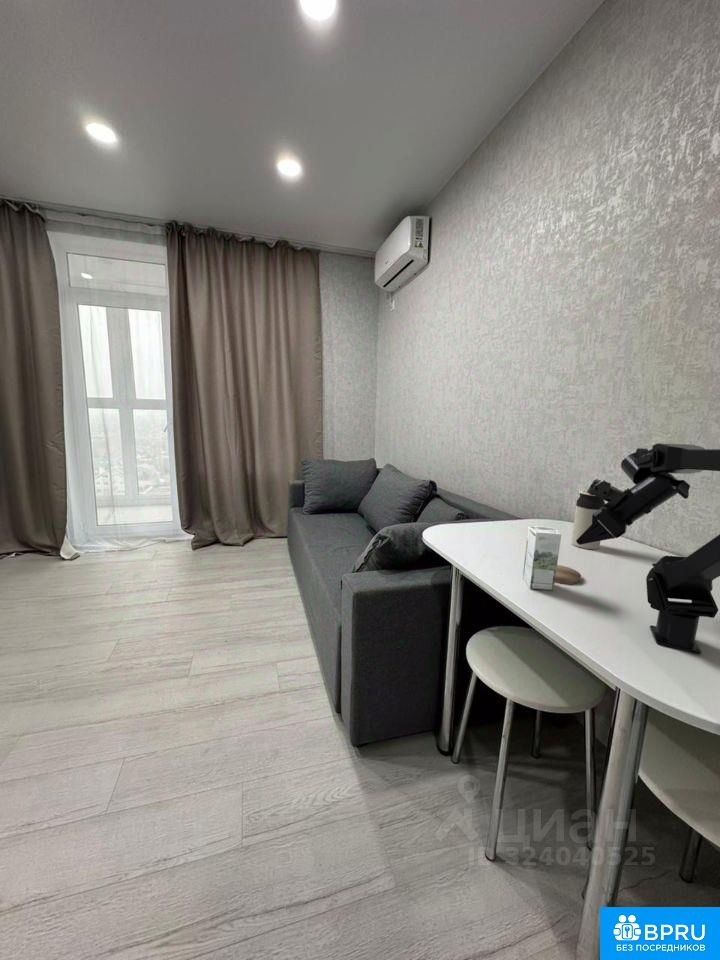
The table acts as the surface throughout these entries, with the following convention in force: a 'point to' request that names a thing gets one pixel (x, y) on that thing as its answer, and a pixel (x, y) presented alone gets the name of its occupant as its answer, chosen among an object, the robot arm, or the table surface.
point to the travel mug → (585, 517)
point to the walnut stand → (567, 575)
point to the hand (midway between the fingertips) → (581, 539)
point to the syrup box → (541, 557)
